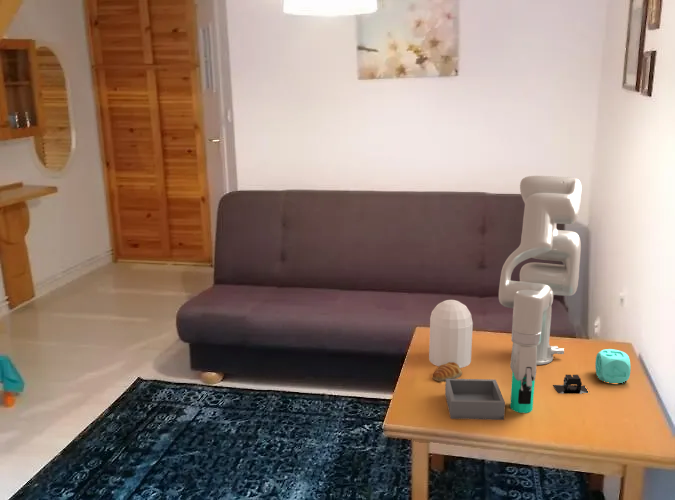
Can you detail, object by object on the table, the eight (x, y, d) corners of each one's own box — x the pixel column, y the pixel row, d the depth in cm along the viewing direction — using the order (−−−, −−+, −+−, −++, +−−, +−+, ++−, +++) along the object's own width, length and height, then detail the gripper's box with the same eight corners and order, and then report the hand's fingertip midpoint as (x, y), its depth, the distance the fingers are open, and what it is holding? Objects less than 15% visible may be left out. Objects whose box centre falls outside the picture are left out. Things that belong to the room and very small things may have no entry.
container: (426, 366, 209) (428, 306, 205) (430, 350, 222) (432, 293, 217) (469, 370, 206) (472, 309, 201) (471, 353, 219) (474, 295, 214)
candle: (507, 403, 185) (509, 363, 182) (528, 402, 185) (530, 362, 183) (514, 413, 179) (517, 372, 176) (536, 412, 180) (539, 371, 177)
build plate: (589, 386, 196) (591, 371, 195) (597, 397, 189) (599, 382, 188) (547, 385, 197) (548, 371, 196) (553, 396, 190) (554, 381, 189)
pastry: (443, 385, 197) (444, 373, 196) (426, 378, 201) (426, 366, 201) (463, 376, 203) (464, 365, 202) (446, 369, 207) (446, 358, 207)
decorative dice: (629, 385, 196) (632, 359, 194) (601, 383, 197) (603, 358, 195) (621, 373, 203) (624, 349, 202) (594, 372, 204) (596, 348, 202)
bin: (494, 395, 189) (495, 379, 188) (504, 419, 176) (505, 402, 175) (445, 394, 190) (445, 378, 189) (450, 418, 177) (451, 401, 175)
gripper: (505, 324, 186) (502, 384, 190) (518, 348, 169) (514, 413, 174) (533, 325, 185) (528, 385, 190) (548, 348, 169) (543, 414, 173)
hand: (522, 398), depth 182 cm, fingers closed on candle, 4 cm apart
